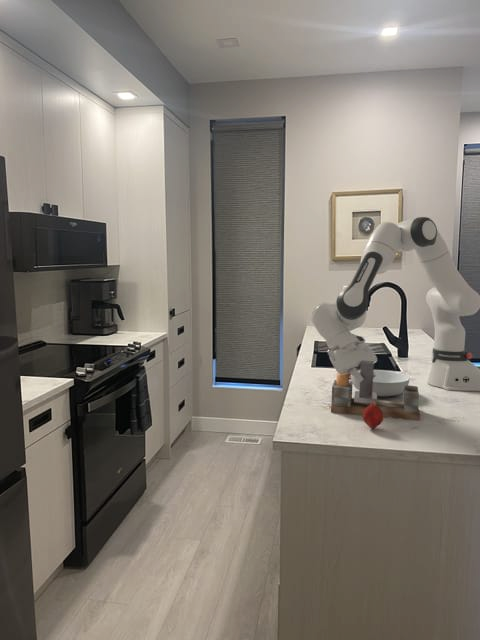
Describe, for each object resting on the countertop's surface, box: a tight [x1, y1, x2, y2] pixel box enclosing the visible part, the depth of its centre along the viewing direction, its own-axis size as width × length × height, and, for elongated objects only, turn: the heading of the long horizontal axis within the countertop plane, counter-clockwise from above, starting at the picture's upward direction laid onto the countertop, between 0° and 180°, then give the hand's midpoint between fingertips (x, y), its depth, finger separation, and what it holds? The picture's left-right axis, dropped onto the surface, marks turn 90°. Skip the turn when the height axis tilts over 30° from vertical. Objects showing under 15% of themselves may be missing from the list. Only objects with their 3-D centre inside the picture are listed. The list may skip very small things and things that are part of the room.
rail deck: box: [330, 379, 421, 421], centre depth 163 cm, size 27×12×9 cm, turn 75°
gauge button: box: [336, 372, 350, 386], centre depth 165 cm, size 4×4×8 cm
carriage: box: [353, 360, 378, 404], centre depth 163 cm, size 7×8×12 cm
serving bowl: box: [350, 369, 411, 398], centre depth 183 cm, size 21×21×7 cm
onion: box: [362, 402, 384, 429], centre depth 146 cm, size 6×6×8 cm
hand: (368, 379), depth 162 cm, fingers closed on carriage, 5 cm apart
